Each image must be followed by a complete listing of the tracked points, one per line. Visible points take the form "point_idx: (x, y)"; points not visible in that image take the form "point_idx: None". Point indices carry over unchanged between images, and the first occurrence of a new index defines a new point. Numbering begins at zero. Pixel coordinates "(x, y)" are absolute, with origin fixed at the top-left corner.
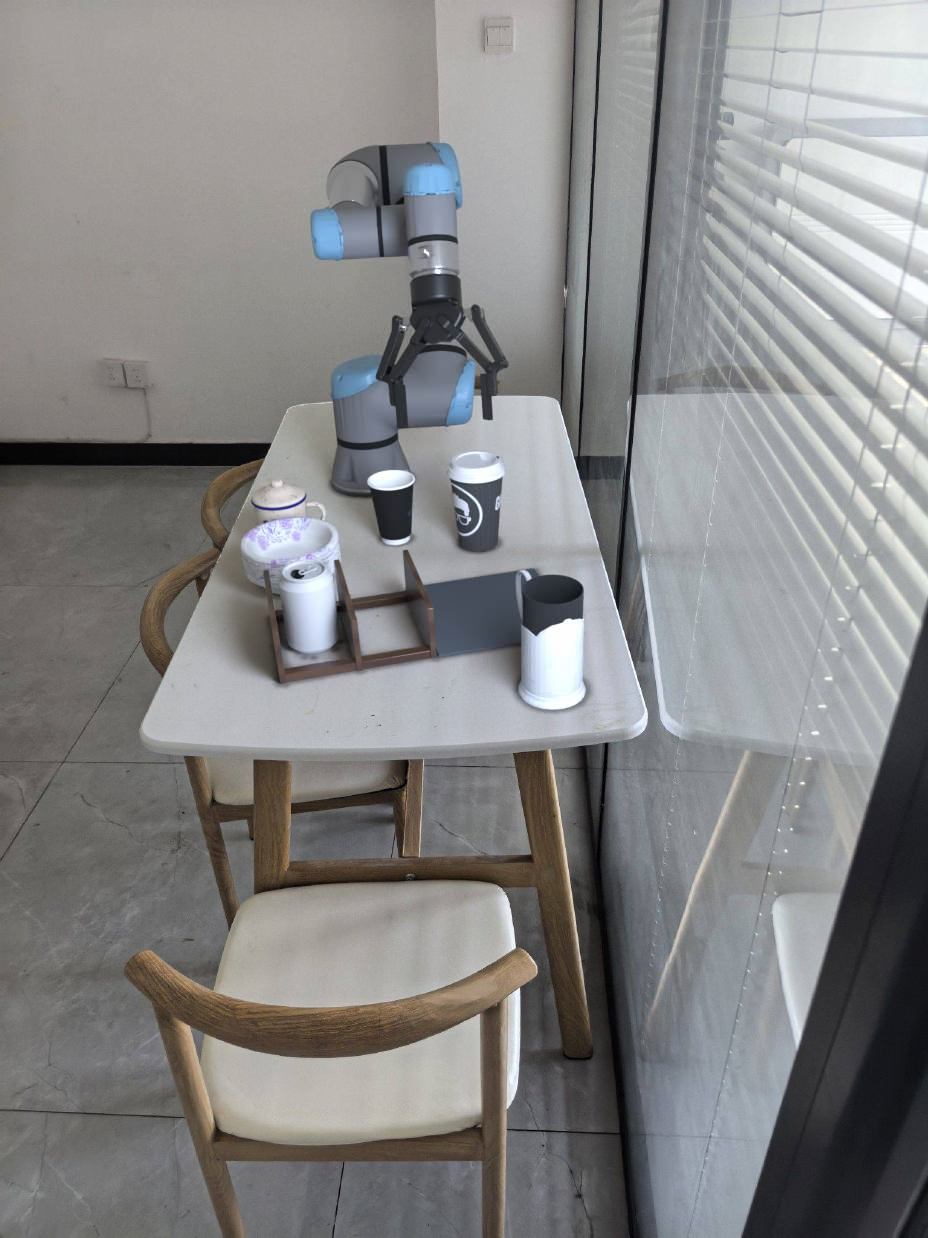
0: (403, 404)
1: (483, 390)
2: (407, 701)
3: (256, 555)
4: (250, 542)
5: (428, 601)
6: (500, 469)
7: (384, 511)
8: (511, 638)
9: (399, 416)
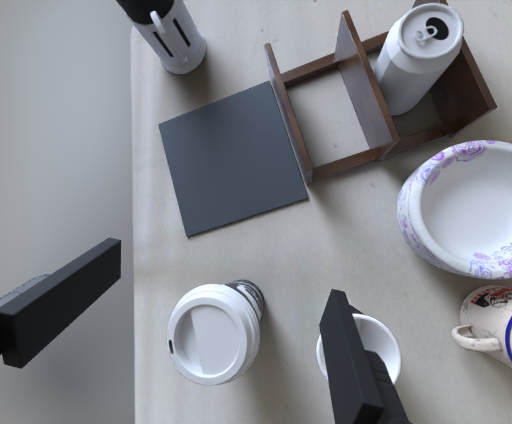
0: (335, 356)
1: (58, 275)
2: (289, 21)
3: None
4: None
5: (270, 55)
6: (172, 314)
7: (358, 311)
8: (209, 110)
9: (341, 308)
